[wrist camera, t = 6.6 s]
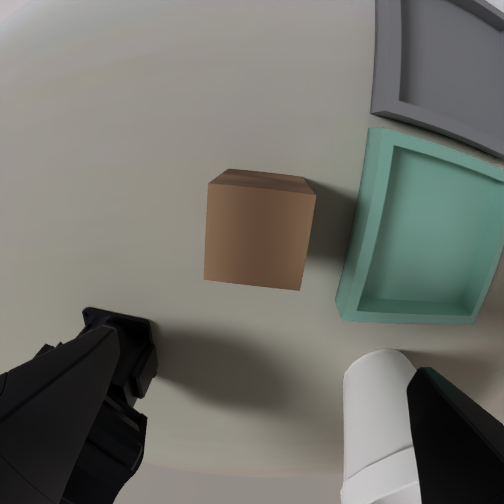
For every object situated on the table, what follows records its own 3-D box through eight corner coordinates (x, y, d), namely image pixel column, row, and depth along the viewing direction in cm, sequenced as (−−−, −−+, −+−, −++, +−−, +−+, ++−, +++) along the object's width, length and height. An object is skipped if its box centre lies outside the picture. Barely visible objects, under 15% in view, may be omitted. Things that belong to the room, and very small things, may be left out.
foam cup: (363, 321, 21) (416, 470, 9) (439, 345, 22) (499, 455, 10) (307, 397, 25) (317, 525, 12) (383, 410, 25) (410, 514, 13)
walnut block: (223, 237, 19) (203, 279, 14) (228, 168, 18) (208, 183, 12) (292, 245, 19) (299, 290, 14) (301, 176, 17) (316, 195, 12)
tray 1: (370, 113, 15) (384, 110, 13) (373, -32, 11) (384, -48, 9) (501, 159, 15) (521, 164, 13) (501, 29, 11) (518, 24, 8)
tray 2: (335, 300, 20) (341, 320, 18) (368, 128, 16) (382, 127, 14) (459, 308, 20) (473, 324, 18) (499, 171, 16) (519, 177, 13)
